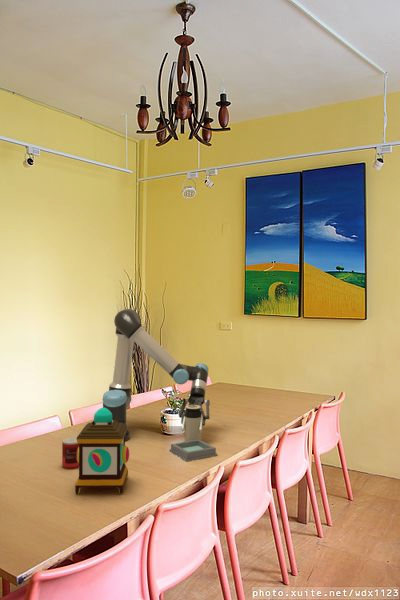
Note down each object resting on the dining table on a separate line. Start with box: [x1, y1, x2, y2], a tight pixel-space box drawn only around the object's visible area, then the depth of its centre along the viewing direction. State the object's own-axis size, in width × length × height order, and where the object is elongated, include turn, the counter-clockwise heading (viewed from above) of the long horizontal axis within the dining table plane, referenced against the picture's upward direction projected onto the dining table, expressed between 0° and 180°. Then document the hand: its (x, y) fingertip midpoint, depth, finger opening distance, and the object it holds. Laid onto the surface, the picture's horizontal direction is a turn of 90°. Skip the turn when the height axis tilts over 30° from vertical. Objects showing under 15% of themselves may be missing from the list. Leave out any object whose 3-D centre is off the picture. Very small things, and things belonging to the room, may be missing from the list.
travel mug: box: [184, 404, 202, 442], centre depth 247 cm, size 8×8×18 cm
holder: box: [169, 439, 218, 462], centre depth 231 cm, size 16×16×4 cm
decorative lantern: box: [74, 407, 130, 495], centre depth 192 cm, size 20×20×30 cm
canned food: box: [61, 437, 79, 470], centre depth 214 cm, size 8×8×11 cm
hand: (191, 430), depth 244 cm, fingers closed on travel mug, 8 cm apart
